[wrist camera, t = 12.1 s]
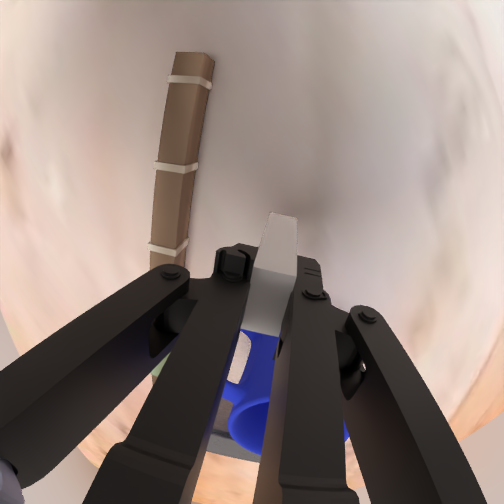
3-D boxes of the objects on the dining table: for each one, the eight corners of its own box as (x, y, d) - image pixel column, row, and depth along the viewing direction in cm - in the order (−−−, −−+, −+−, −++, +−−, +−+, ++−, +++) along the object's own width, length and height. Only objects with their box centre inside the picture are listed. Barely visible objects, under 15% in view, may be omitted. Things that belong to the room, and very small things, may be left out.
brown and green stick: (160, 370, 29) (150, 386, 27) (187, 60, 18) (173, 51, 15) (179, 376, 29) (171, 393, 27) (216, 61, 18) (205, 52, 15)
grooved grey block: (185, 401, 31) (169, 440, 26) (186, 378, 29) (168, 419, 24) (315, 429, 30) (315, 469, 25) (329, 408, 28) (330, 452, 23)
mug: (248, 258, 23) (216, 339, 14) (359, 335, 24) (378, 426, 15) (197, 322, 26) (156, 404, 17) (299, 384, 27) (295, 469, 18)
